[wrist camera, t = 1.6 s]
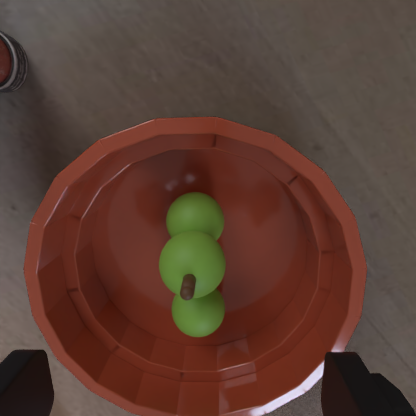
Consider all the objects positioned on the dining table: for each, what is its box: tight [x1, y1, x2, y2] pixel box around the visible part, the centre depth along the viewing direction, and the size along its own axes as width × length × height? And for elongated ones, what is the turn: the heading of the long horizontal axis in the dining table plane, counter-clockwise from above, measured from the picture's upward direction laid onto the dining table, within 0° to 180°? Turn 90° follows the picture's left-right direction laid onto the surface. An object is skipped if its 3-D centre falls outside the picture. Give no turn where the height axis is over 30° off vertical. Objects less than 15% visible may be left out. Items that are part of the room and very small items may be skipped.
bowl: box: [23, 117, 367, 416], centre depth 14 cm, size 14×14×4 cm
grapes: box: [159, 192, 226, 337], centre depth 13 cm, size 8×3×6 cm, turn 1°
